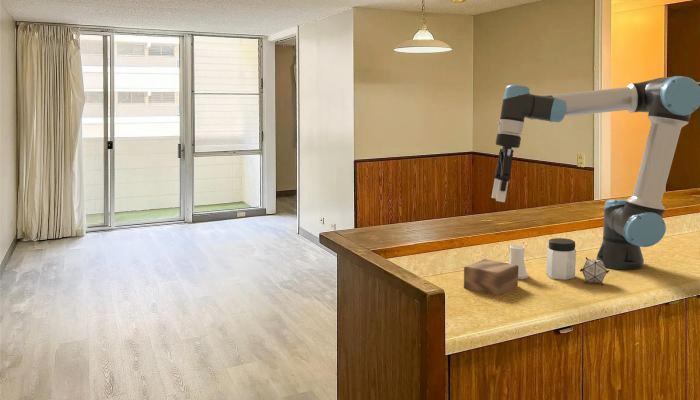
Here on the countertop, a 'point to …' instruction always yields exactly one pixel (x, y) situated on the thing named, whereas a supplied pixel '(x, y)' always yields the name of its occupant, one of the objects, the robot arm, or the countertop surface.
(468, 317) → the countertop surface
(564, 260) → the jar
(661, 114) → the robot arm
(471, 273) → the walnut box
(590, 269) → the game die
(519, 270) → the salt shaker
